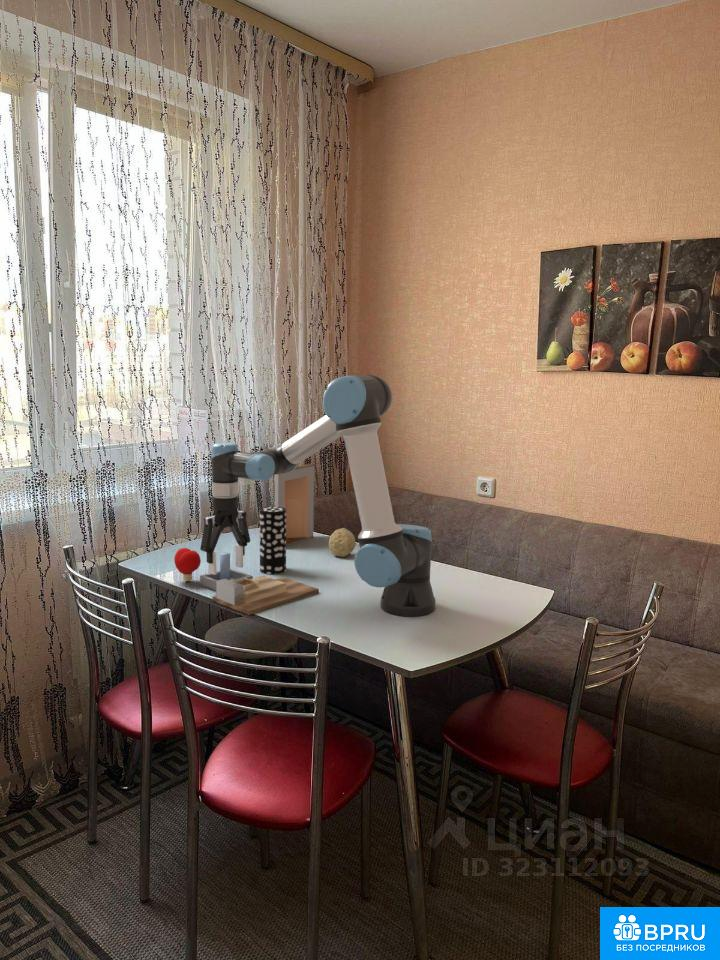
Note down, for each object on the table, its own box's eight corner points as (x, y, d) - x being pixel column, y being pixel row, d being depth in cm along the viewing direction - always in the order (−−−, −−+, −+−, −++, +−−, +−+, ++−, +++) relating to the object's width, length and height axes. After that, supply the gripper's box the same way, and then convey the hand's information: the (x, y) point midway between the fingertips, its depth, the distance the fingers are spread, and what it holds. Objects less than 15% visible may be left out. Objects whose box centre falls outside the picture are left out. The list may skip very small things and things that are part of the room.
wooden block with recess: (286, 591, 209) (286, 578, 208) (247, 602, 199) (247, 588, 198) (263, 583, 216) (263, 570, 215) (225, 594, 206) (225, 580, 205)
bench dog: (243, 602, 199) (243, 585, 198) (234, 605, 197) (234, 587, 196) (225, 595, 204) (225, 578, 204) (216, 598, 202) (216, 580, 201)
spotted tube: (281, 575, 228) (281, 512, 225) (256, 573, 230) (255, 511, 226) (289, 567, 236) (289, 507, 233) (264, 565, 238) (264, 505, 234)
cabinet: (278, 548, 259) (278, 471, 254) (257, 544, 264) (257, 468, 259) (313, 537, 276) (314, 464, 271) (293, 533, 281) (293, 461, 276)
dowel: (226, 581, 219) (226, 552, 218) (231, 583, 217) (232, 554, 216) (217, 582, 218) (218, 553, 216) (223, 585, 215) (223, 555, 214)
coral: (362, 533, 255) (353, 527, 246) (355, 561, 253) (345, 557, 244) (337, 528, 258) (327, 522, 249) (330, 556, 256) (320, 551, 247)
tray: (252, 585, 217) (252, 575, 217) (222, 594, 209) (222, 584, 209) (229, 577, 225) (229, 568, 224) (200, 585, 217) (199, 575, 216)
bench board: (318, 592, 212) (318, 588, 212) (248, 615, 193) (248, 610, 193) (282, 580, 223) (282, 576, 223) (212, 600, 204) (212, 596, 204)
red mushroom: (206, 582, 219) (206, 550, 218) (186, 587, 214) (186, 555, 213) (189, 576, 226) (188, 544, 224) (169, 580, 221) (168, 548, 219)
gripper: (246, 489, 223) (247, 560, 227) (186, 498, 207) (187, 575, 211) (262, 492, 218) (262, 565, 222) (201, 502, 202) (203, 580, 206)
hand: (226, 570), depth 216 cm, fingers open, 9 cm apart
